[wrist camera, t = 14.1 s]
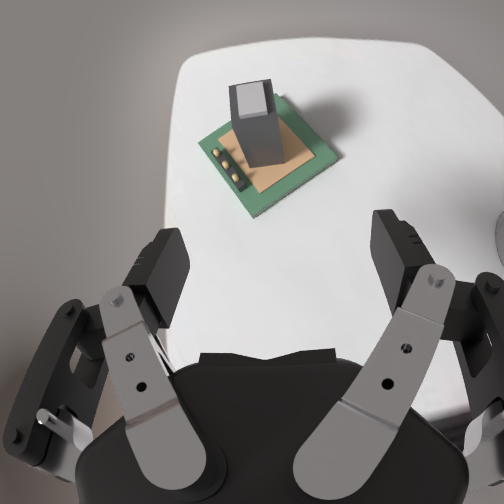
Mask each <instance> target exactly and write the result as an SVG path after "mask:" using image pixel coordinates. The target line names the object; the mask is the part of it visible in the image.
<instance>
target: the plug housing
mask: <svg viewBox="0 0 504 504" xmlns="http://www.w3.org/2000/svg"><path fill="white" fill-rule="evenodd" d="M229 97H230V110H231V123H232V129H233V131H234V133H235V135H236V138H237V140H238V142H239V145H240V147H241V149H242V152H243V154H244V156H245V159H246V161H247V163H248V166H249V168H257V167H264V166H271V165H278V164H285V161H284V154H283V147H282V141H281V134H280V128H279V122H278V116H277V110H276V104H275V99H274V94H273V88H272V83H271V79H267V80H260V81H254V82H248V83H242V84H237V85H232V86H229Z"/></svg>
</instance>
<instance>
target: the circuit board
mask: <svg viewBox="0 0 504 504" xmlns="http://www.w3.org/2000/svg"><path fill="white" fill-rule="evenodd" d="M274 99H275V104H276V110H277V116H278V122H279V128H280V134H281V141H282V147H283V154H284V161H285V164H278V165H271V166H264V167H257V168H249V166H248V163H247V161H246V159H245V156H244V154H243V152H242V149H241V147H240V145H239V142H238V140H237V138H236V135H235V133H234V131H233V129H232V123H231V121H229V122H228V123H226V124H225V125H223V126H222V127H220V128H219V129H217V130H216V131H214V132H213V133H211V134H210V135H208V136H207V137H205V138H204V139H203V140H201V141H200V142H198V144H199V145H200V147H201V148H202V149H203V151H204V152H205V153H206V155H207V156H208V157H209V159H210V160H211V161H212V163H213V164H214V166H215V167H216V168H217V170H218V171H219V172H220V174H221V175H222V176H223V178H224V179H225V181H226V182H227V183H228V185H229V186H230V187H231V189H232V190H233V192H234V193H235V194H236V196H237V197H238V198H239V200H240V201H241V203H242V204H243V205H244V207H245V208H246V210H247V211H248V212H249V214H250V215H251V216H252V218H255V217H256V216H258V215H259V214H261V213H262V212H263V211H265V210H266V209H268V208H269V207H271V206H272V205H273V204H275V203H276V202H278V201H279V200H281V199H282V198H283V197H285V196H286V195H288V194H289V193H291V192H292V191H294V190H295V189H297V188H298V187H299V186H301V185H302V184H304V183H305V182H307V181H308V180H310V179H311V178H313V177H314V176H316V175H317V174H319V173H320V172H321V171H323V170H324V169H326V168H327V167H329V166H330V165H332V164H333V163H335V162H336V161H337V156H336V155H335V153H334V152H333V151H332V150H331V149H330V148H329V147H328V146H327V145H326V143H325V142H324V141H323V140H322V139H321V138H320V137H319V136H318V135H317V134H316V133H315V132H314V131H313V129H312V128H311V127H310V126H309V125H308V124H307V123H306V122H305V121H304V120H303V119H302V118H301V117H300V116H299V115H298V114H297V113H296V112H295V111H294V110H293V109H292V108H291V107H290V106H289V105H288V104H287V103H286V102H285V101H284V100H283V99H282V98H281V97H279V96H278V95H277V94H276V93H275V94H274Z"/></svg>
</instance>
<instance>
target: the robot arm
mask: <svg viewBox="0 0 504 504" xmlns="http://www.w3.org/2000/svg"><path fill="white" fill-rule="evenodd" d="M496 245H497V250H498V254H499V257H500V259H501V262H502V263H503V265H504V212H503V213H502V215H501V216H500V218H499V220H498V223H497V226H496ZM370 249H371V256H372V259H373V261H374V264H375V267H376V270H377V272H378V275H379V278H380V281H381V284H382V286H383V289H384V292H385V295H386V298H387V301H388V304H389V307H390V311H391V314H392V319H391V321H390V322H389V324H388V326H387V328H386V330H385V331H384V333H383V335H382V337H381V338H380V340H379V342H378V343H377V345H376V347H375V348H374V350H373V352H372V353H371V355H370V357H369V358H368V360H367V361H366V363H365V365H364V366H361V365H359V364H357V363H355V362H352V361H349V360H345V359H341V358H336V353H335V348H331V349H319V350H306V351H299V352H295V353H291V354H288V355H284V356H280V357H276V358H273V359H268V360H262V359H257V358H252V357H247V356H242V355H238V354H233V353H200V358H199V362H198V363H194V364H191V365H188V366H186V367H183V368H181V369H179V370H177V371H176V370H175V369H174V367H173V365H172V363H171V361H170V359H169V357H168V355H167V353H166V351H165V349H164V347H163V345H162V343H161V341H160V339H159V337H158V336H157V334H156V333H157V330H158V328H165V329H169V327H170V324H171V321H172V318H173V315H174V312H175V310H176V307H177V304H178V301H179V298H180V295H181V292H182V289H183V287H184V284H185V281H186V278H187V275H188V273H189V269H190V260H189V256H188V253H187V250H186V247H185V244H184V241H183V238H182V235H181V233H180V230H179V229H178V228H168V229H161V230H160V231H159V232H158V234H157V235H156V237H155V239H154V240H153V242H150V243H149V244H148V245H147V246H146V247H144V248H143V249H142V251H141V253H140V254H139V256H138V259H136V261H135V263H134V266H132V268H131V270H130V272H129V274H128V275H127V277H126V279H125V281H124V282H123V284H122V286H118V287H115V288H113V289H111V290H109V291H108V292H107V293H106V294H104V295H103V297H102V298H101V300H100V303H99V304H98V305H95V306H91V307H88V308H85V306H84V305H83V303H82V302H81V301H80V300H79V299H73V300H70V301H68V302H66V303H64V304H63V305H62V306H61V307H60V308H59V309H58V311H57V313H56V314H55V316H54V318H53V320H52V322H51V324H50V326H49V328H48V329H47V331H46V333H45V335H44V337H43V339H42V341H41V343H40V345H39V347H38V349H37V351H36V353H35V355H34V357H33V359H32V362H31V364H30V366H29V368H28V370H27V373H26V375H25V377H24V380H23V382H22V384H21V387H20V390H19V392H18V394H17V397H16V399H15V402H14V404H13V407H12V410H11V412H10V415H9V418H8V421H7V424H6V427H5V430H4V434H3V444H4V448H5V450H6V451H7V453H8V454H10V455H11V456H13V457H15V458H17V459H18V460H21V461H22V462H24V463H25V464H26V465H28V466H30V467H32V468H34V469H36V470H38V471H40V472H42V473H44V474H46V475H48V476H52V477H55V478H58V479H60V480H62V481H65V482H74V483H76V487H77V491H78V497H79V504H462V503H463V501H464V498H465V495H466V494H467V493H470V492H473V491H475V490H478V489H480V488H483V487H485V486H495V485H498V484H500V483H502V482H504V280H503V279H502V278H500V277H499V276H498V275H496V274H493V273H490V272H483V273H480V274H479V275H478V276H477V278H476V280H475V283H469V282H462V281H457V280H455V277H454V275H453V274H452V272H450V271H449V270H448V269H447V268H445V267H443V266H441V265H437V264H436V263H435V262H434V260H433V258H432V256H431V255H430V253H429V251H428V250H427V248H426V246H425V245H424V243H423V242H422V240H421V238H420V237H419V236H418V234H417V232H416V230H415V229H414V227H413V226H411V225H410V224H408V223H407V222H406V221H399V219H398V218H397V216H396V215H395V213H394V211H393V210H392V209H385V210H374V211H373V216H372V229H371V241H370ZM487 334H488V336H489V338H488V336H487ZM440 339H441V340H449V341H453V344H454V347H455V351H456V354H457V357H458V361H459V364H460V368H461V371H462V375H463V379H464V383H465V387H466V391H467V396H468V400H469V405H470V410H471V415H472V420H473V421H472V422H471V423H470V425H469V426H468V428H467V430H466V434H465V443H464V451H463V453H462V452H461V451H460V449H459V448H458V447H457V446H455V445H454V444H453V443H452V442H451V441H450V440H448V439H447V438H446V437H445V436H444V435H443V434H442V433H440V432H439V431H438V430H437V429H436V428H435V427H434V426H432V425H431V424H430V423H429V422H428V421H427V420H426V419H424V418H423V417H422V416H421V415H420V414H419V413H418V412H416V411H415V410H414V409H413V408H412V407H411V404H412V402H413V400H414V398H415V396H416V394H417V392H418V390H419V388H420V386H421V383H422V381H423V379H424V377H425V375H426V372H427V370H428V368H429V365H430V363H431V360H432V358H433V355H434V353H435V350H436V348H437V345H438V342H439V340H440ZM489 339H490V341H491V344H492V346H491V344H490V341H489ZM75 347H77V348H78V349H79V350H80V351H81V352H82V354H81V356H80V359H79V362H78V364H77V366H76V369H75V371H74V374H73V373H72V372H71V370H70V366H69V362H70V358H71V356H72V354H73V352H74V349H75ZM108 371H110V375H111V378H112V382H113V385H114V388H115V391H116V394H117V397H118V400H119V403H120V406H121V409H122V412H123V416H122V417H121V418H120V419H119V420H117V421H116V422H115V423H114V424H113V425H112V426H110V427H109V428H108V429H107V430H106V431H105V432H103V433H102V434H101V435H100V436H99V437H97V438H96V439H95V440H93V436H92V432H91V428H92V424H93V421H94V417H95V413H96V409H97V406H98V403H99V400H100V397H101V393H102V390H103V387H104V384H105V381H106V377H107V374H108Z"/></svg>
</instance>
